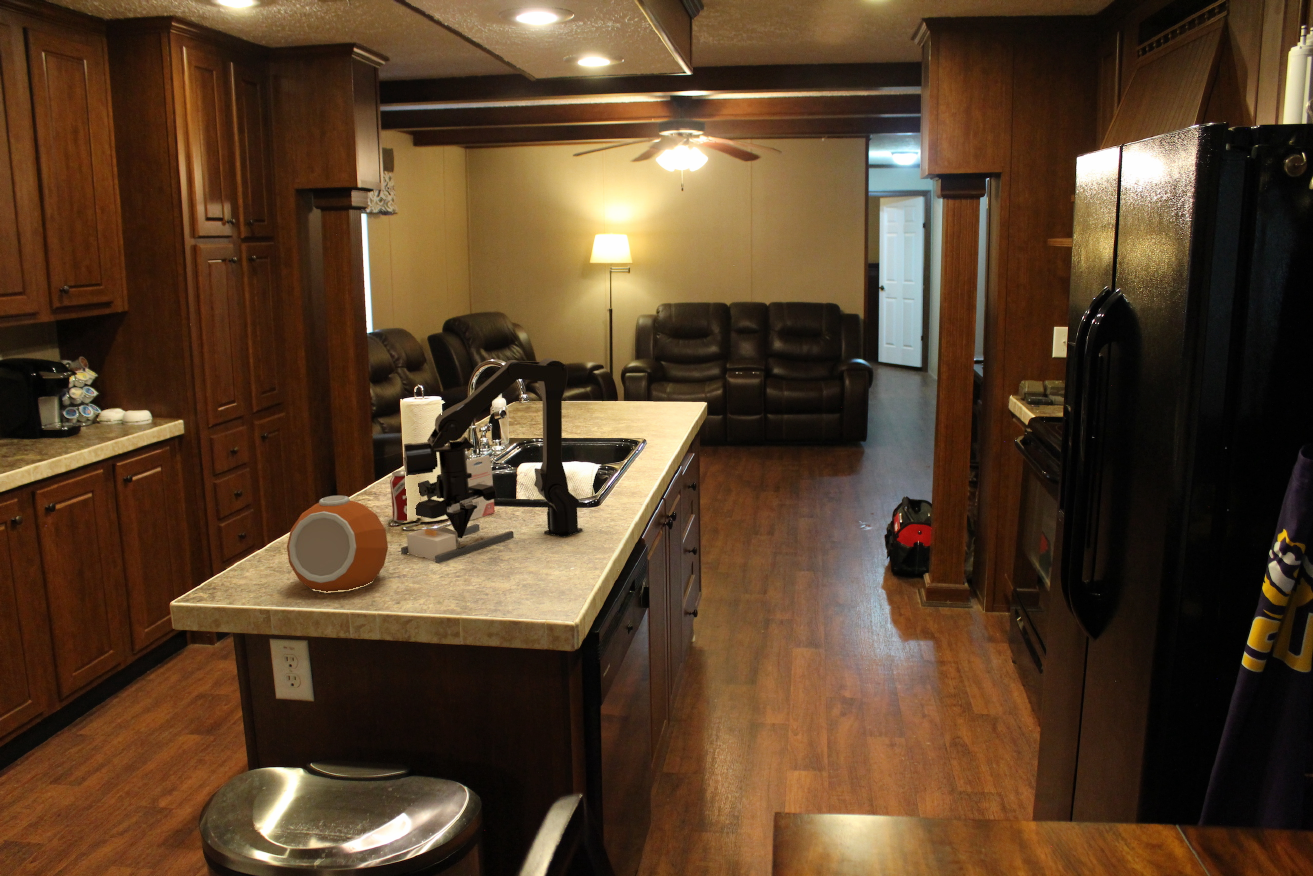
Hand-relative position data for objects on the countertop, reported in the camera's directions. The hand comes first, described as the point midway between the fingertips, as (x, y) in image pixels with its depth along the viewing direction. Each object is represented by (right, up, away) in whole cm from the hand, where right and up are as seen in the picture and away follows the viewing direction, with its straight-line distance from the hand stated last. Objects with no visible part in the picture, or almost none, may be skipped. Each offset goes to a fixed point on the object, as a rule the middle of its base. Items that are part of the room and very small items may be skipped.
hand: (460, 538), depth 227 cm
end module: (-5, -3, -6) cm, 8 cm away
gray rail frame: (0, -2, 0) cm, 2 cm away
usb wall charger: (-2, -2, -2) cm, 4 cm away
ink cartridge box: (-1, +3, +25) cm, 25 cm away
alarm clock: (-19, -7, -23) cm, 31 cm away
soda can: (-17, +2, +22) cm, 28 cm away
